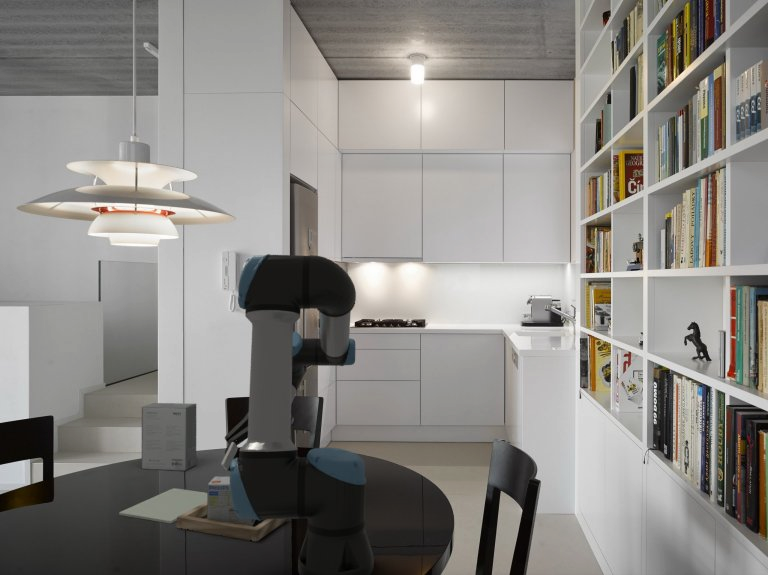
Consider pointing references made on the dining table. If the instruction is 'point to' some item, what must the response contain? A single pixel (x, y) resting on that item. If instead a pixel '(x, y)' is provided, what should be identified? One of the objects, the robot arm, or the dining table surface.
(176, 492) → the sage mat
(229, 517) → the light bulb box
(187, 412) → the hard drive box
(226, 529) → the oak frame
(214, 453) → the dining table surface
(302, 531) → the dining table surface
